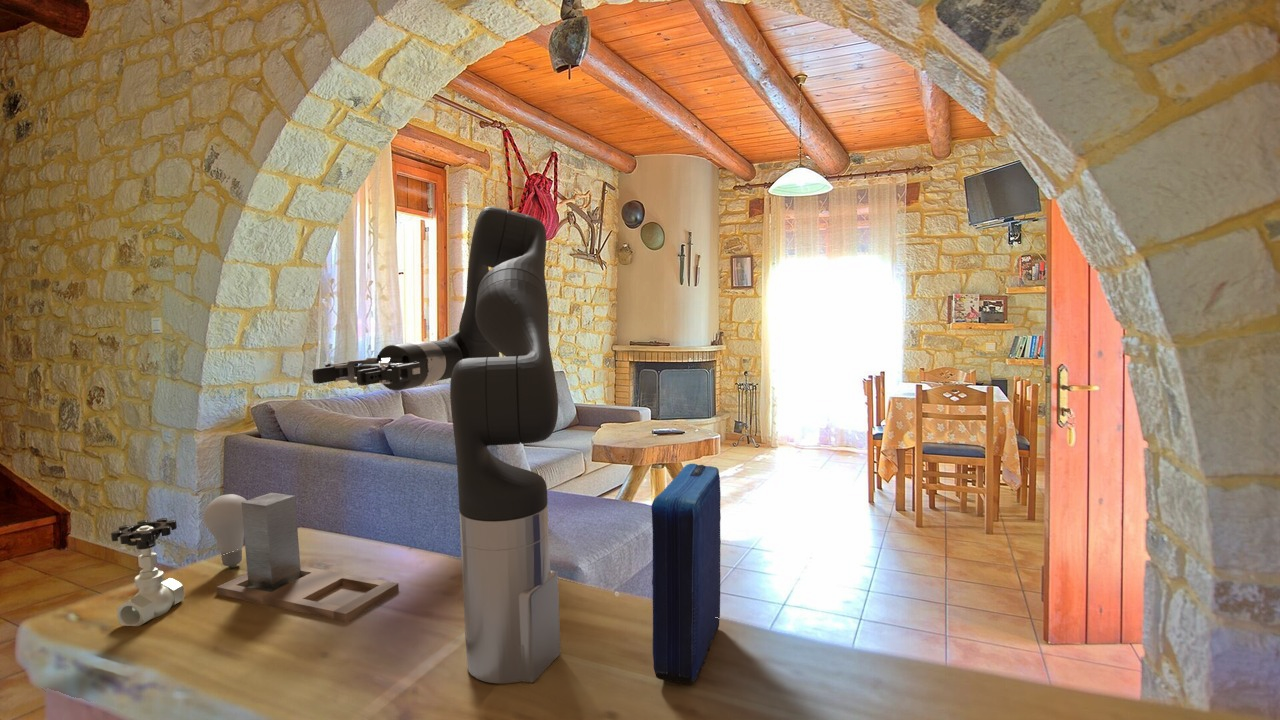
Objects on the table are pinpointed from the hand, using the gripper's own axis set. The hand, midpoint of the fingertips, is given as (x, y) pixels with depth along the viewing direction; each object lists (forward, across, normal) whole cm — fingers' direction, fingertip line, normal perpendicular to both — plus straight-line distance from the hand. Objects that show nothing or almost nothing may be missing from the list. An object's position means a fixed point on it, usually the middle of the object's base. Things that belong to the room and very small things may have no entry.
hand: (336, 377), depth 100 cm
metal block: (+11, -2, +27) cm, 29 cm away
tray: (+11, +4, +28) cm, 30 cm away
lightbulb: (+7, -16, +28) cm, 33 cm away
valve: (+22, -10, +28) cm, 37 cm away
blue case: (+7, +56, +28) cm, 63 cm away
